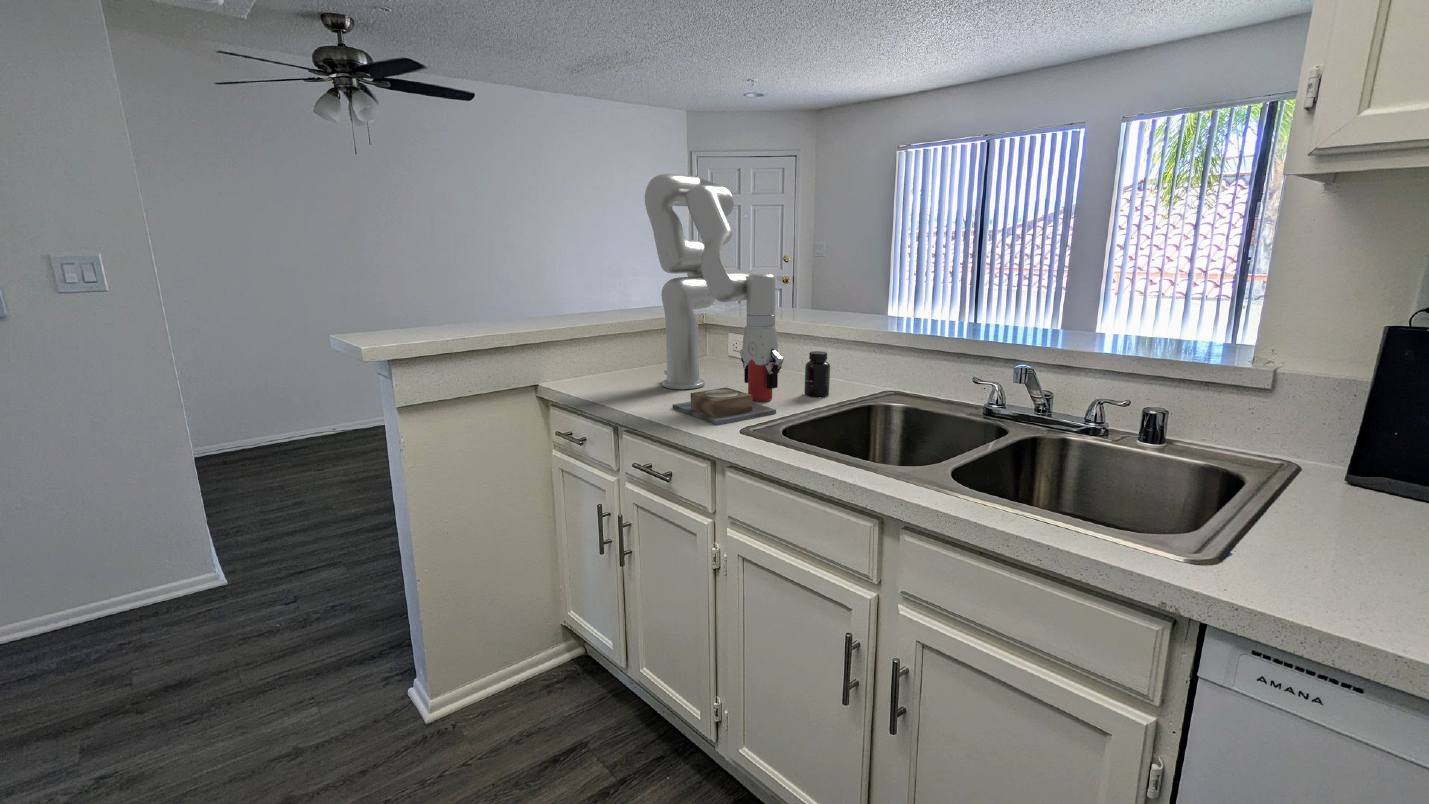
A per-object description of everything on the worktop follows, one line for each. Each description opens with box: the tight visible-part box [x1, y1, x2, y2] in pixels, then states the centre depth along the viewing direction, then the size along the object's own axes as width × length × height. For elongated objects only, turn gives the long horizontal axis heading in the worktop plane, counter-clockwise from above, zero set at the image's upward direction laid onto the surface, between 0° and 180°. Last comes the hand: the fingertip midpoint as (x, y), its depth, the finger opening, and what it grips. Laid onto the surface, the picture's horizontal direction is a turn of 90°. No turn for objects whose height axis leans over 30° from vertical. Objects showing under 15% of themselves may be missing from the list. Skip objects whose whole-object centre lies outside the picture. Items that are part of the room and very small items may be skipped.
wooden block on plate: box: [671, 386, 777, 426], centre depth 169 cm, size 20×18×5 cm
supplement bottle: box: [803, 350, 831, 399], centre depth 184 cm, size 7×7×12 cm
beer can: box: [747, 360, 773, 403], centre depth 180 cm, size 7×7×12 cm
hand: (760, 385), depth 180 cm, fingers open, 9 cm apart
